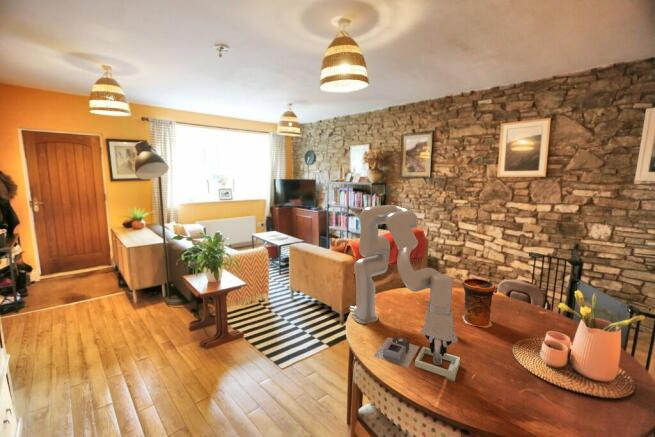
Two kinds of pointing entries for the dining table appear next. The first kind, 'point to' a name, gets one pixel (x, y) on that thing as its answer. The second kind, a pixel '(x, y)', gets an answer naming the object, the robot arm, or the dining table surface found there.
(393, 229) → the robot arm
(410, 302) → the dining table surface
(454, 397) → the dining table surface
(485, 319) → the vessel
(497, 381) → the dining table surface
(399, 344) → the tensioner block
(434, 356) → the pin
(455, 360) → the rectangular frame
